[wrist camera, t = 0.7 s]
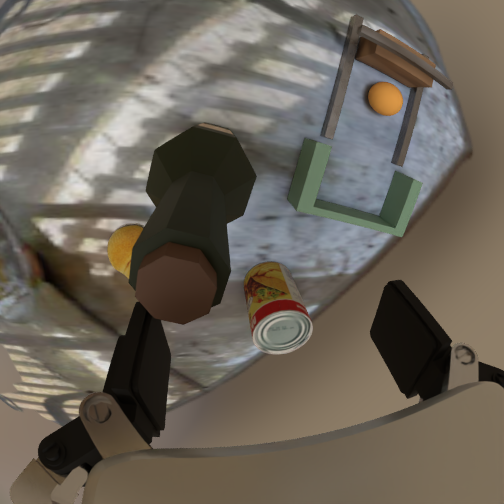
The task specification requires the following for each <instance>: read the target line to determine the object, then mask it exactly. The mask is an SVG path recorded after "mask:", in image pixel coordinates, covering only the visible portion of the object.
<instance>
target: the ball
mask: <svg viewBox="0 0 504 504" xmlns="http://www.w3.org/2000/svg"><path fill="white" fill-rule="evenodd" d="M368 99H369V103H370V105H371V106H372V108H373V109H374V110H375V111H376V112H377V113H379V114H381V115H385V116H391V115H394V114H396V113H398V112H399V111H400V109H401V107H402V104H403V98H402V95H401V92H400V91H399V89H398V88H397V87H396V86H394V85H393V84H391V83H388V82H379V83H376V84H374V85H373V86H372V87H371V89H370V91H369V94H368Z"/></svg>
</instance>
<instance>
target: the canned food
mask: <svg viewBox="0 0 504 504" xmlns="http://www.w3.org/2000/svg"><path fill="white" fill-rule="evenodd" d="M244 290H245V296H246V303H247V309H248V315H249V321H250V327H251V333H252V339H253V342H254V344H255V346H256V347H257V348H258V349H259V350H261V351H263V352H265V353H269V354H285V353H288V352H291V351H294V350H296V349H298V348H299V347H301V346H302V345H304V344H305V343H306V342H307V341H308V339H309V337H310V336H311V334H312V330H313V327H312V322H311V319H310V317H309V315H308V312H307V310H306V308H305V305H304V303H303V300H302V298H301V296H300V293H299V291H298V289H297V287H296V284H295V282H294V280H293V277H292V275H291V273H290V271H289V269H288V268H287V267H285V266H284V265H282V264H280V263H278V262H263V263H260V264H258V265H256V266H254V267H253V268H252V269H251V270H250V271H249V272H248V273H247V275H246V276H245V280H244Z"/></svg>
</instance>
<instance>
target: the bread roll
mask: <svg viewBox="0 0 504 504" xmlns="http://www.w3.org/2000/svg"><path fill="white" fill-rule="evenodd" d="M142 230H143V228H142V227H140V226H138V225H130V226H125V227H122V228H119V229H118V230H116V231H115V232H114V233H113V234H112V236H111V238H110V240H109V242H108V249H107V252H108V257H109V260H110V262H111V264H112V266H113V267H114V268H115V269H116V270H118V271H119V272H121V273H123V274H124V275H125V276H126V277H127V278H129V273H130V264H131V255H132V248H133V246H134V244H135V243H136V241H137V239H138V237H139V236H140V234H141V232H142Z"/></svg>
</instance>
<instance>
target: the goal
mask: <svg viewBox="0 0 504 504" xmlns="http://www.w3.org/2000/svg"><path fill="white" fill-rule="evenodd" d="M331 148H332V146H329V145H326V144H323V143H320V142H316V141H313V140H310V139H306V138H305V139H304V142H303V146H302V149H301V153H300V156H299V160H298V163H297V167H296V170H295V174H294V177H293V181H292V184H291V188H290V191H289V195H288V198H287V199H288V201H289V202H290V203H291V205H292V206H293V207H294V208H295V210H296V211H299V212H304V213H308V214H313V215H317V216H321V217H325V218H330V219H334V220H338V221H342V222H346V223H350V224H354V225H358V226H362V227H366V228H370V229H374V230H377V231H381V232H385V233H389V234H392V235H396V236H400V237H402V236H403V233H404V231H405V229H406V226H407V224H408V221H409V219H410V216H411V214H412V211H413V208H414V206H415V203H416V200H417V198H418V195H419V192H420V189H421V186H422V183H421V182H419V181H417V180H415V179H413V178H411V177H408V176H406V175H404V174H402V173H399V172H397V171H395V173H394V176H393V179H392V182H391V185H390V188H389V191H388V194H387V197H386V199H385V202H384V205H383V208H382V210H381V213H380V216H376V215H373V214H370V213H366V212H363V211H359V210H356V209H352V208H349V207H345V206H341V205H337V204H334V203H330V202H326V201H322V200H318V199H316V197H317V194H318V191H319V187H320V184H321V181H322V178H323V175H324V171H325V168H326V165H327V162H328V158H329V155H330V151H331Z"/></svg>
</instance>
